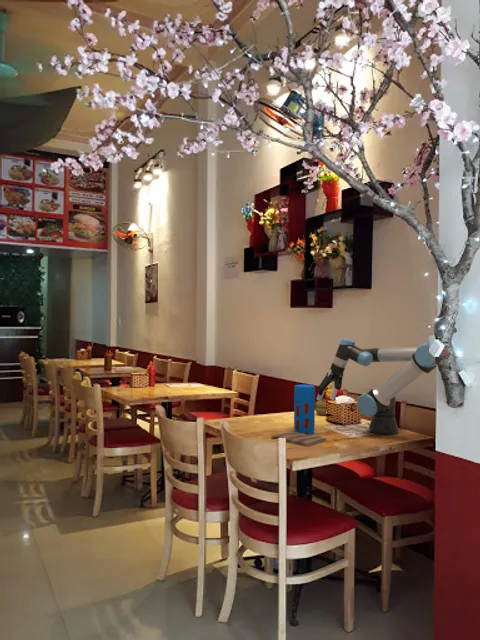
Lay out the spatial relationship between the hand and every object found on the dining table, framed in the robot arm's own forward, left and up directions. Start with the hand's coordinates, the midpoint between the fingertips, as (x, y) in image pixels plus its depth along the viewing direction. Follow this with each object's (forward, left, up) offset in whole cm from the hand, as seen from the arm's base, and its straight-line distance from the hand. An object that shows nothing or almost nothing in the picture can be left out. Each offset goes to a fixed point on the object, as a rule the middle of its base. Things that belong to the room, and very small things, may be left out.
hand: (325, 399), depth 290 cm
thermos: (+2, +18, -16) cm, 24 cm away
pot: (+23, -33, -16) cm, 43 cm away
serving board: (-6, +34, -16) cm, 38 cm away
